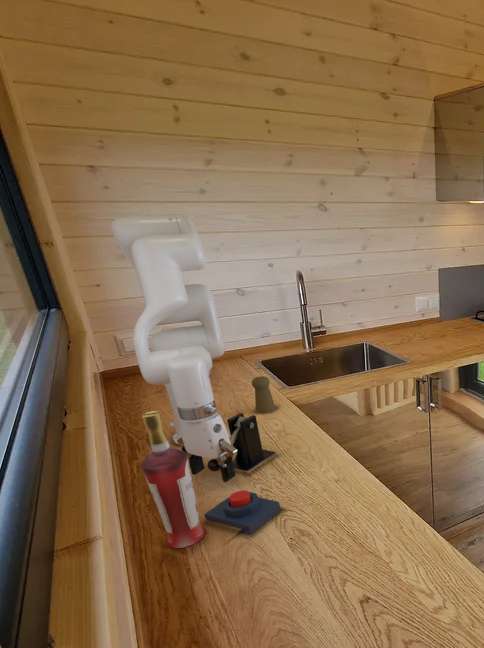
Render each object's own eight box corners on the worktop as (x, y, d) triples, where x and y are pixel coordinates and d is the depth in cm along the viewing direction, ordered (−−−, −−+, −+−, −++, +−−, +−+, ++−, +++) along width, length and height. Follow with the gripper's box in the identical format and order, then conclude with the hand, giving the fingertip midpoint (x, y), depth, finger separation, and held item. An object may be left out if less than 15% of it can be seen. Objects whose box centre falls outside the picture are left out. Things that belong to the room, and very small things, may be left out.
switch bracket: (248, 474, 121) (238, 428, 116) (224, 469, 124) (213, 423, 119) (276, 455, 130) (268, 412, 125) (252, 451, 132) (243, 408, 127)
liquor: (169, 535, 99) (130, 410, 88) (209, 526, 102) (176, 403, 91) (165, 558, 93) (122, 426, 82) (207, 547, 96) (171, 418, 85)
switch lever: (220, 475, 116) (212, 468, 113) (210, 472, 117) (201, 466, 114) (254, 424, 124) (247, 416, 121) (244, 422, 125) (237, 415, 122)
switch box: (206, 522, 103) (202, 507, 102) (238, 499, 111) (235, 484, 109) (250, 535, 99) (247, 518, 97) (281, 510, 107) (278, 495, 105)
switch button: (226, 505, 102) (224, 498, 102) (240, 495, 106) (239, 488, 105) (241, 509, 101) (239, 502, 100) (255, 499, 105) (253, 492, 104)
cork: (269, 413, 155) (262, 381, 151) (252, 412, 156) (245, 380, 152) (279, 406, 161) (273, 374, 156) (262, 405, 162) (256, 373, 158)
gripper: (240, 408, 110) (254, 474, 116) (183, 398, 116) (199, 461, 122) (213, 422, 103) (229, 490, 110) (154, 411, 109) (173, 476, 116)
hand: (213, 475), depth 116 cm, fingers open, 9 cm apart
